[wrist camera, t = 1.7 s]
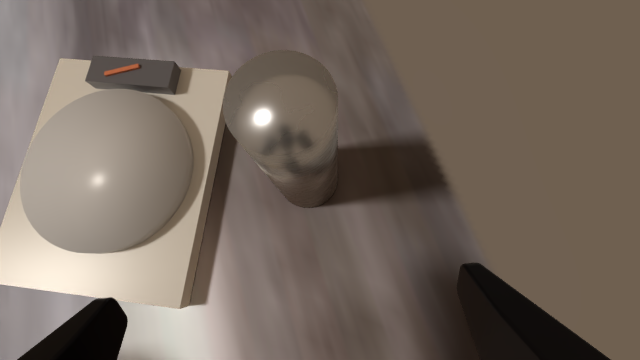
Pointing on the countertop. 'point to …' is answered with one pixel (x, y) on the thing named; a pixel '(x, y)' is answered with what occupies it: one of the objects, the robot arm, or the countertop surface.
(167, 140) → the scale
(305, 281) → the countertop surface
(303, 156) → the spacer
